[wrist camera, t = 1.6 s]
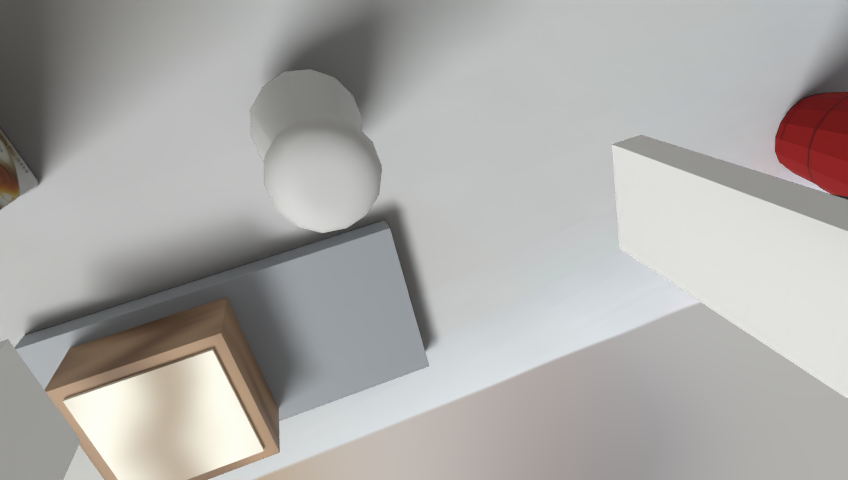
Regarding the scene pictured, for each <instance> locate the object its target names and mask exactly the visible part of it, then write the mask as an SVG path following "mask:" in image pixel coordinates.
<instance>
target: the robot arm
mask: <svg viewBox="0 0 848 480" xmlns="http://www.w3.org/2000/svg"><path fill="white" fill-rule="evenodd" d="M612 151H613V165H614V179H615V193H616V207H617V221H618V235H619V249H621V250H622V251H624V252H625V253H627V254H628V255H630V256H631V257H633V258H635V259H636V260H638V261H639V262H641V263H642V264H644V265H645V266H647V267H648V268H650V269H651V270H653V271H654V272H656V273H657V274H659V275H660V276H662V277H663V278H665V279H666V280H668V281H669V282H671V283H673V284H674V285H676V286H677V287H679V288H680V289H682V290H683V291H685V292H686V293H688V294H689V295H691V296H692V297H694V298H695V299H697V300H698V301H700V302H701V303H703V304H704V305H706V306H708V307H709V308H711V309H712V310H714V311H715V312H717V313H718V314H720V315H721V316H723V317H724V318H726V319H727V320H729V321H730V322H732V323H733V324H735V325H737V326H738V327H739V328H741V329H743V330H744V331H746V332H747V333H749V334H750V335H752V336H753V337H755V338H756V339H758V340H759V341H761V342H762V343H764V344H765V345H767V346H768V347H770V348H771V349H773V350H774V351H776V352H778V353H779V354H781V355H782V356H784V357H785V358H787V359H788V360H790V361H791V362H793V363H794V364H796V365H797V366H799V367H800V368H802V369H803V370H805V371H806V372H808V373H809V374H811V375H812V376H814V377H816V378H817V379H819V380H820V381H822V382H823V383H825V384H826V385H828V386H829V387H831V388H832V389H834V390H835V391H837V392H838V393H840V394H841V395H843V396H844V397H846V398H847V399H848V197H847V196H840V195H833V194H828V193H825V192H821V191H818V190H815V189H812V188H809V187H806V186H802V185H799V184H796V183H793V182H790V181H786V180H783V179H780V178H777V177H774V176H771V175H767V174H764V173H761V172H758V171H755V170H751V169H748V168H745V167H742V166H739V165H736V164H732V163H729V162H726V161H723V160H720V159H716V158H713V157H710V156H707V155H704V154H701V153H697V152H694V151H691V150H688V149H685V148H681V147H678V146H675V145H672V144H669V143H666V142H662V141H659V140H656V139H653V138H650V137H646V136H643V135H640V136H636V137H633V138H630V139H627V140H624V141H621V142H618V143H615V144H612ZM80 441H81V440H80V439H79V438H78V436H77V435H76V433H75V432H74V431H73V429H72V428H71V426H70V425H69V424H68V422H67V421H66V419H65V418H64V417H63V415H62V414H61V412H60V411H59V410H58V408H57V407H56V405H55V404H54V403H53V401H52V400H51V398H50V397H49V396H48V394H47V393H46V391H45V390H44V389H43V387H42V386H41V385H40V383H39V382H38V380H37V379H36V378H35V376H34V375H33V373H32V372H31V371H30V369H29V368H28V366H27V365H26V364H25V362H24V361H23V359H22V358H21V357H20V355H19V354H18V352H17V351H16V350H15V348H14V347H13V345H12V344H11V343H10V341H9V340H8V339H7V340H4V341H1V342H0V480H63V479H64V477H65V474H66V472H67V470H68V468H69V465H70V463H71V461H72V459H73V456H74V454H75V452H76V450H77V447H78V445H79V443H80Z"/></svg>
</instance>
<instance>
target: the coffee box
mask: <svg viewBox="0 0 848 480" xmlns="http://www.w3.org/2000/svg"><path fill="white" fill-rule="evenodd" d="M38 185H39V184H38V181H37V179H36V178H35V176H34V175H33V173H32V172H31V171H30V169H29V168H28V167H27V165H26V164H25V162H24V161H23V159H22V158H21V157H20V155H19V154H18V152H17V151H16V150H15V148H14V147H13V145H12V144H11V143H10V141H9V140H8V139H7V137H6V136H5V134H4V133H3V132H2V130H1V129H0V210H1V209H2V208H4V207H5V206H7V205H8V204H9V203H11V202H12V201H14V200H15V199H16V198H18V197H19V196H21V195H23V194H25V193H27V192H29V191H31V190H33V189H35V188H36V187H38Z"/></svg>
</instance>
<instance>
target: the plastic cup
mask: <svg viewBox="0 0 848 480" xmlns="http://www.w3.org/2000/svg"><path fill="white" fill-rule="evenodd" d="M775 152H776V155H777V157H778V160H779V162H780V163H781V164H783V165H784V166H785V167H786V168H788V169H789V170H790V171H792V172H793V173H795V174H797V175H799V176H801V177H803V178H805V179H807V180H809V181H811V182H813V183H814V184H816V185H818V186H819V187H820V188H822V189H823V190H825V191H827V192H829V193H830V194H833V195H840V196H847V197H848V92H834V93H822V94H815V95H812V96H810V97H807V98H804V99H802V100H801V101H800V102H799V103H797V104H796V105H795V106H794V107H792V108H791V109H790V111H789V112H788V113H787V115H786V116H785V118H784V119H783V121H782V122H781V124H780V127H779V130H778V133H777V135H776V144H775Z"/></svg>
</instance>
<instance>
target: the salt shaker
mask: <svg viewBox="0 0 848 480" xmlns="http://www.w3.org/2000/svg"><path fill="white" fill-rule="evenodd" d="M250 130H251V137H252V139H253V141H254V144H255V146H256V148H257V150H258V152H259V154H260V156H261V158H262V159H263V161H264V186H265V188H266V190H267V192H268V194H269V196H270V198H271V200H272V202H273V204H274V206H275V208H276V210H277V211H278V212H279V213H280V214H281V215H283V216H284V217H285V218H287V219H288V220H289V221H291V222H292V223H293V224H295V225H296V226H297V227H300V228H304V229H308V230H312V231H316V232H320V233H325V232H330V231H335V230H340V229H345V228H348V227H349V226H351V225H352V224H354V223H355V222H357V221H358V220H360V219H361V218H363V217H364V216H366V215H367V214H368V212H369V210H370V209H371V207H372V205H373V203H374V202H375V200H376V198H377V197H378V195H379V190H380V181H381V172H382V167H381V163H380V160H379V158H378V155H377V153H376V150H375V147H374V145H373V142H372V141H371V140H370V139H369V138H368V137H367V136H366V135H365V134H364V133H363V132H362V117H361V114H360V112H359V109H358V107H357V104H356V101H355V99H354V96H353V95H352V94H351V93H350V92H349V91H348V90H347V89H346V88H345V87H344V86H343V85H342V84H341V83H340V82H339V81H338V80H337V79H336V78H335V77H333V76H330V75H327V74H324V73H320V72H317V71H314V70H311V69H306V70H296V71H287V72H283V73H281V74H280V75H279V76H277V77H276V78H274V79H273V80H272V81H270V82H269V83H267V84H266V85H265V86H263V87H262V89H261V91H260V93H259V94H258V96H257V98H256V100H255V102H254V103H253V105H252V107H251V109H250Z"/></svg>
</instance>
